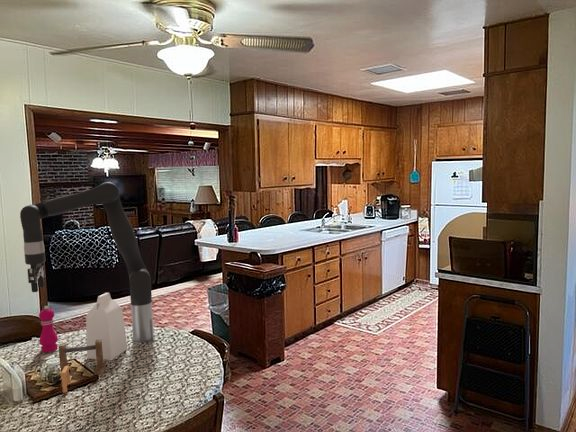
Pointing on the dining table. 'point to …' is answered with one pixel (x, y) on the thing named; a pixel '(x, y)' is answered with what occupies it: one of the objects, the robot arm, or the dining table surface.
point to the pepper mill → (47, 331)
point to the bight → (65, 378)
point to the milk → (106, 328)
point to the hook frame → (97, 346)
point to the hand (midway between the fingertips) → (38, 289)
